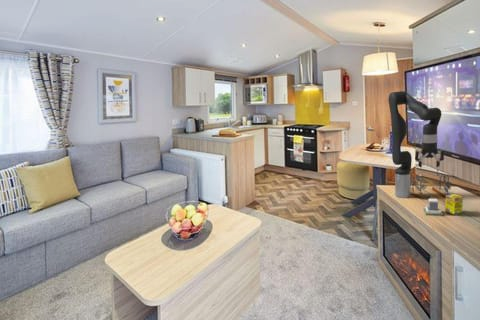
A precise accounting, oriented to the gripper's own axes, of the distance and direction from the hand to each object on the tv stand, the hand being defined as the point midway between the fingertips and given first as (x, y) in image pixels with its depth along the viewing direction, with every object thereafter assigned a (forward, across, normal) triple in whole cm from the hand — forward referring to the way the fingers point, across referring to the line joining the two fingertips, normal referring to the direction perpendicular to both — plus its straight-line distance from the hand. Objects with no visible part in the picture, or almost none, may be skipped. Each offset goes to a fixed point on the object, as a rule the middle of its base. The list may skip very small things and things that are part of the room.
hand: (428, 167), depth 165 cm
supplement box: (+28, -12, +5) cm, 31 cm away
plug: (+26, -2, +7) cm, 27 cm away
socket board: (+27, -2, +7) cm, 28 cm away
